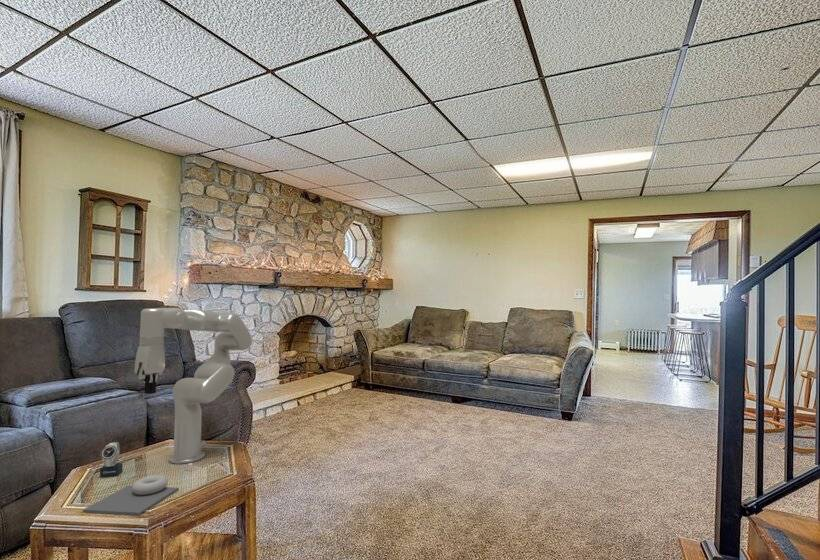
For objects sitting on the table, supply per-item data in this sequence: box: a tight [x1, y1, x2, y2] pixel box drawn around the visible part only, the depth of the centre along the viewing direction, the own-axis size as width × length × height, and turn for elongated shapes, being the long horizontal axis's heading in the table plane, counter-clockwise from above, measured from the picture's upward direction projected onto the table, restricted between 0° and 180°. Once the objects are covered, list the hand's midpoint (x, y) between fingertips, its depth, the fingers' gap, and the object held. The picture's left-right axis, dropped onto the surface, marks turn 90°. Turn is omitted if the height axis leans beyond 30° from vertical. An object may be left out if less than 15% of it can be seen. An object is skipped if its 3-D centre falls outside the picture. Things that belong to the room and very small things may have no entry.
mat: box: [82, 485, 179, 516], centre depth 130 cm, size 17×18×1 cm
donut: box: [131, 474, 169, 495], centre depth 136 cm, size 10×4×10 cm
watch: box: [99, 441, 124, 478], centre depth 152 cm, size 6×8×11 cm
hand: (150, 393), depth 152 cm, fingers closed
